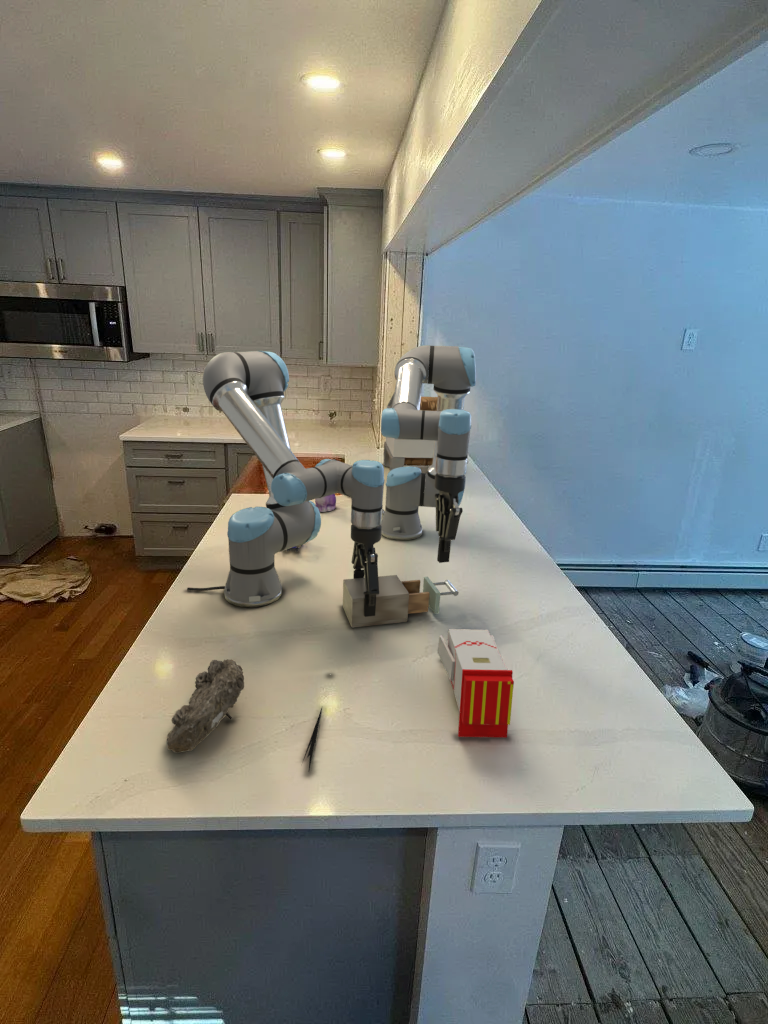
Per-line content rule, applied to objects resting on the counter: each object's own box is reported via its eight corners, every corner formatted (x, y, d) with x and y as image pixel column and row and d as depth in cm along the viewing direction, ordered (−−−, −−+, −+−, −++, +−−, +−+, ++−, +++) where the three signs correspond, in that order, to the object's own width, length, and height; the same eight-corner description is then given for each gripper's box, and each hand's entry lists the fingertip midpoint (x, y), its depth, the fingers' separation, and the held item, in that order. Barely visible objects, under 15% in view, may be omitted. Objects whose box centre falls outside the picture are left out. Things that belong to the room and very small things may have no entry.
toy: (488, 613, 130) (523, 677, 101) (484, 667, 133) (517, 744, 104) (435, 612, 130) (455, 676, 101) (432, 666, 133) (451, 743, 103)
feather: (331, 679, 122) (336, 673, 122) (307, 777, 96) (313, 769, 95) (324, 675, 122) (329, 669, 121) (298, 772, 95) (304, 764, 95)
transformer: (382, 463, 289) (386, 382, 275) (445, 464, 293) (451, 384, 279) (390, 482, 257) (394, 392, 243) (460, 483, 261) (468, 394, 247)
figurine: (318, 514, 215) (318, 476, 210) (309, 505, 223) (309, 469, 218) (341, 511, 219) (342, 473, 214) (331, 503, 227) (331, 467, 222)
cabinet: (395, 601, 154) (396, 574, 151) (407, 621, 144) (409, 593, 141) (342, 606, 150) (343, 579, 147) (351, 627, 140) (352, 599, 138)
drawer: (445, 594, 157) (447, 574, 155) (459, 611, 148) (461, 590, 146) (379, 600, 152) (380, 580, 150) (389, 618, 143) (390, 597, 141)
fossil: (192, 660, 117) (244, 628, 112) (224, 691, 120) (276, 661, 115) (142, 746, 98) (202, 712, 93) (182, 779, 101) (242, 748, 96)
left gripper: (395, 542, 128) (390, 626, 135) (369, 507, 149) (366, 581, 157) (363, 544, 126) (360, 629, 133) (341, 508, 147) (340, 584, 155)
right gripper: (475, 480, 134) (466, 570, 142) (454, 466, 146) (447, 550, 154) (446, 482, 132) (438, 573, 140) (427, 467, 144) (421, 552, 152)
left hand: (363, 603), depth 145 cm, fingers open, 11 cm apart
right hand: (443, 561), depth 147 cm, fingers closed
